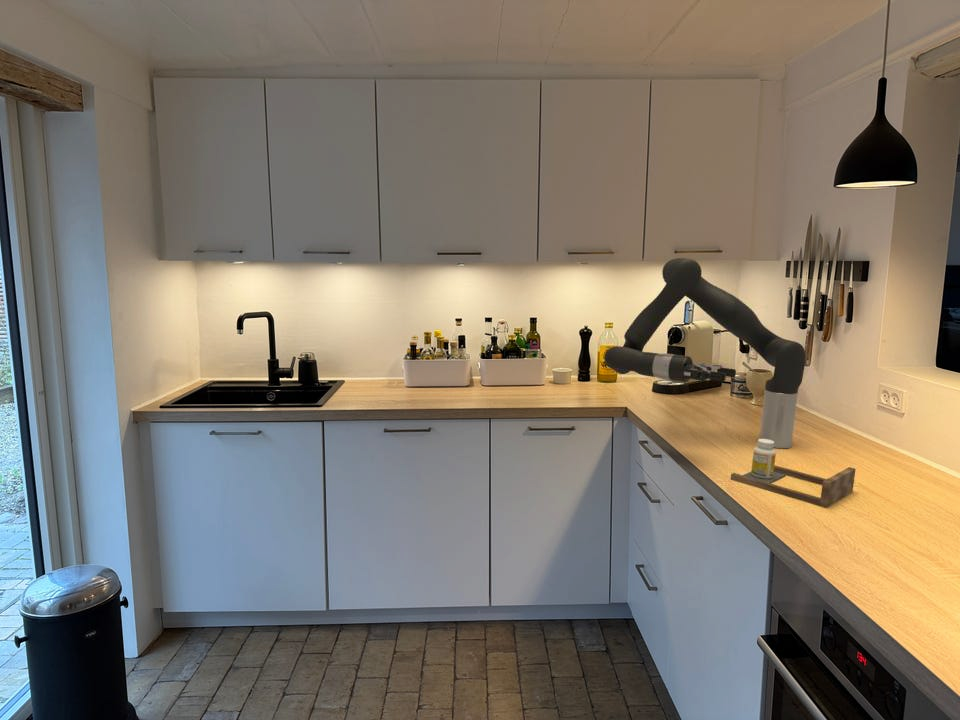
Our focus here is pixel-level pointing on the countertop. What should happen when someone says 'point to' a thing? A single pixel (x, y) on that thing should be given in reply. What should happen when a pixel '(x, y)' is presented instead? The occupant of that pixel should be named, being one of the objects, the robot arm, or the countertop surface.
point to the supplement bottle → (763, 459)
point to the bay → (831, 487)
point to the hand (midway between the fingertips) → (730, 375)
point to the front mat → (775, 477)
